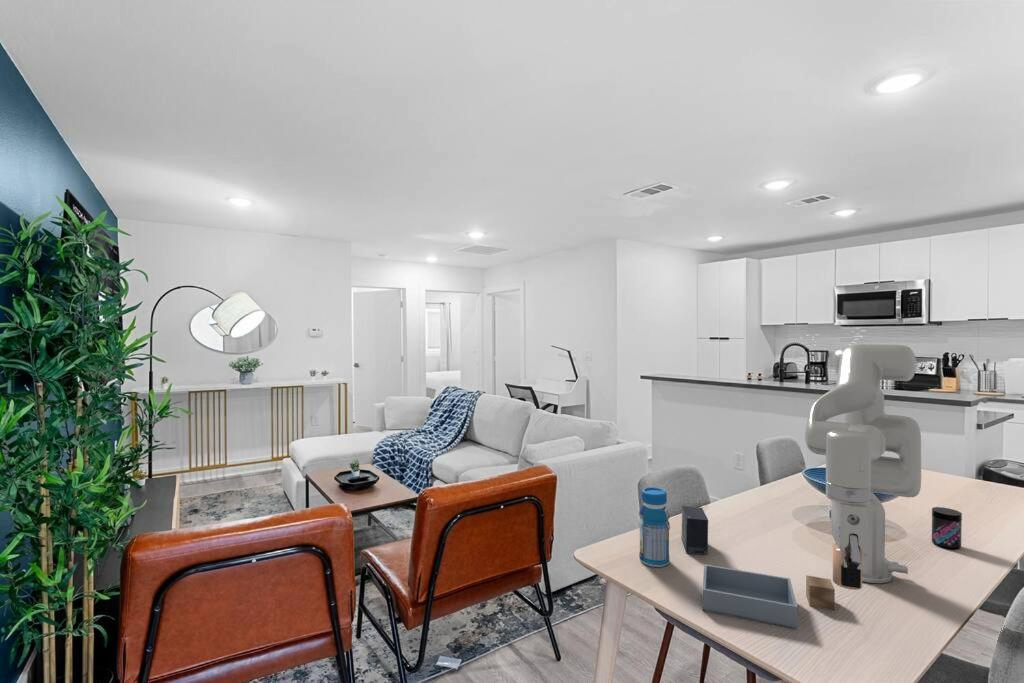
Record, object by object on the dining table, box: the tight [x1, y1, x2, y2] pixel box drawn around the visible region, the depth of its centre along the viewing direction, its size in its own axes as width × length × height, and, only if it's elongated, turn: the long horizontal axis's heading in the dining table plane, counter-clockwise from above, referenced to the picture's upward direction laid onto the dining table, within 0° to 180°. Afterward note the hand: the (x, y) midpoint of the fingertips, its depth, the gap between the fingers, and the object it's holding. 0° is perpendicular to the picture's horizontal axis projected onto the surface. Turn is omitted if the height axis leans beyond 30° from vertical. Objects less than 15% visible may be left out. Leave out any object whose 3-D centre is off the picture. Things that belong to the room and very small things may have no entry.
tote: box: [702, 563, 799, 631], centre depth 117 cm, size 19×13×5 cm
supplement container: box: [931, 506, 963, 551], centre depth 147 cm, size 7×7×10 cm
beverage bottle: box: [638, 486, 671, 568], centre depth 139 cm, size 8×8×20 cm
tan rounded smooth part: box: [832, 543, 863, 591], centre depth 101 cm, size 5×5×7 cm
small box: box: [680, 505, 709, 556], centre depth 148 cm, size 11×6×10 cm, turn 168°
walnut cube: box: [805, 575, 836, 611], centre depth 117 cm, size 5×5×5 cm
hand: (847, 578), depth 101 cm, fingers closed on tan rounded smooth part, 5 cm apart
